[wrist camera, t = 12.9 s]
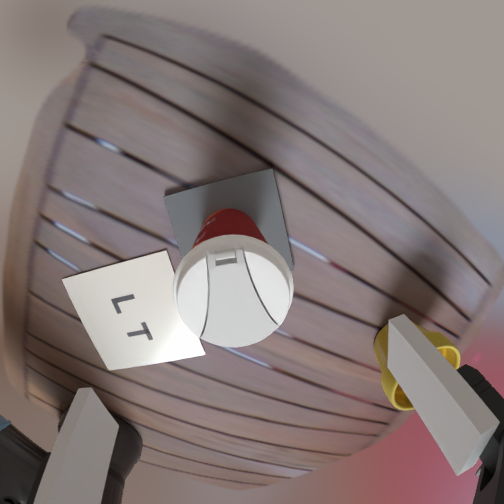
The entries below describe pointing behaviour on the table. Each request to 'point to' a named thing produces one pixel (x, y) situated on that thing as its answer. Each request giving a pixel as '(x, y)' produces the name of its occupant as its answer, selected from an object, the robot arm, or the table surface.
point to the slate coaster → (236, 197)
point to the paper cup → (232, 282)
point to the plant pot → (388, 380)
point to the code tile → (133, 312)
